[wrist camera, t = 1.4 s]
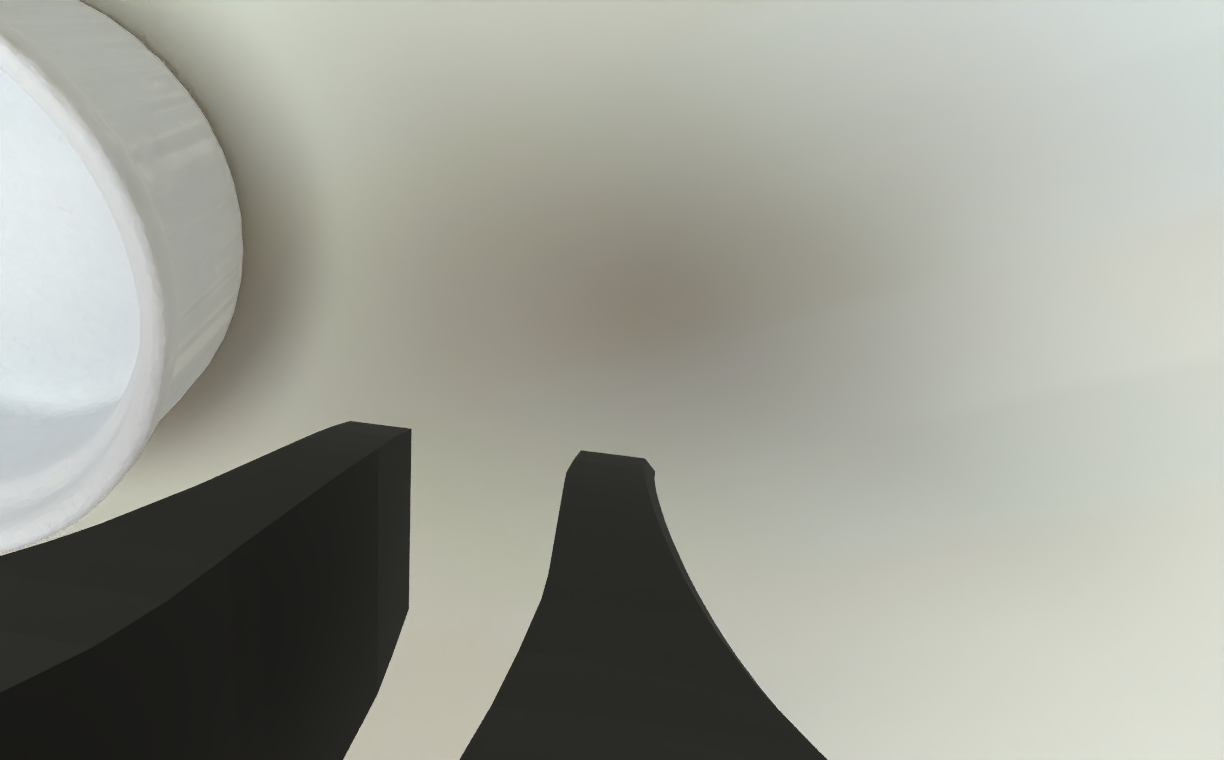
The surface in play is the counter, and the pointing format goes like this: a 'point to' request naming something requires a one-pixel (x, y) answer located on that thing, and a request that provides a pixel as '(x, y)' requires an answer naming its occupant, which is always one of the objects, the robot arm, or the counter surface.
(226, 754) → the robot arm
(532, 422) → the counter surface
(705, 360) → the counter surface
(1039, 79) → the counter surface
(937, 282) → the counter surface
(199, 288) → the ramekin
